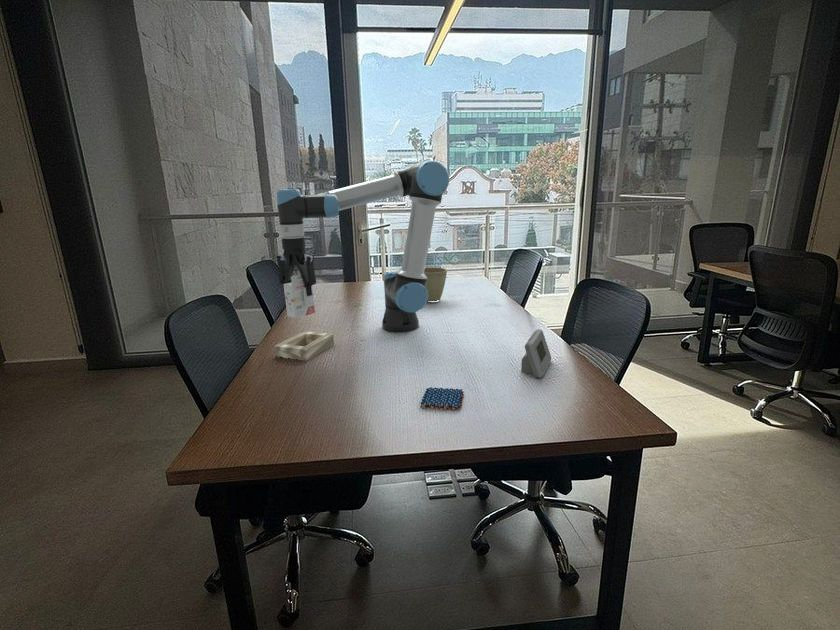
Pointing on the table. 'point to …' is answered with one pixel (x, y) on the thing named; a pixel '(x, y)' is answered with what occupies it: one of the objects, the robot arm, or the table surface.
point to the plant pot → (435, 282)
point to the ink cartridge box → (297, 298)
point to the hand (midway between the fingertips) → (300, 304)
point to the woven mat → (442, 398)
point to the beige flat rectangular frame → (296, 349)
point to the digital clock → (536, 355)
